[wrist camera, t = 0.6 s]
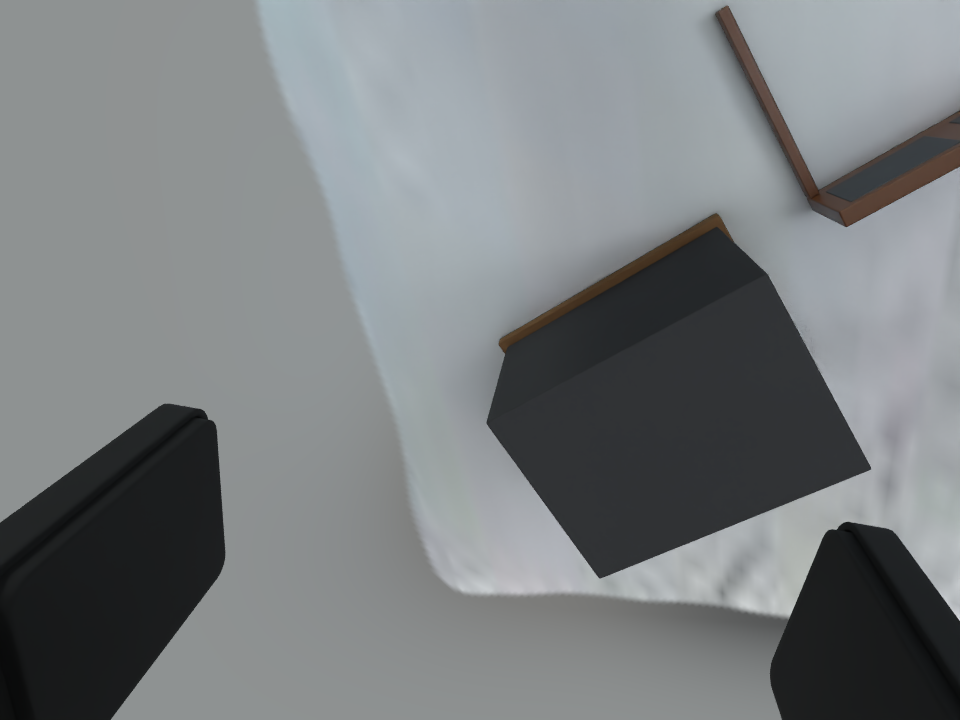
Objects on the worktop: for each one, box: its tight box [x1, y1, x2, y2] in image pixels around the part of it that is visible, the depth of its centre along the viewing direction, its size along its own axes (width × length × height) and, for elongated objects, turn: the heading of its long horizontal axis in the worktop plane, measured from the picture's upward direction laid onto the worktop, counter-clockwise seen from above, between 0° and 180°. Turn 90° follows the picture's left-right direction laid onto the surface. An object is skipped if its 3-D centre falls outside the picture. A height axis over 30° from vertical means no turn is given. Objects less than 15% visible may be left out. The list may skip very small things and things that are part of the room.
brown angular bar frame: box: [715, 5, 960, 227], centre depth 32 cm, size 13×14×5 cm
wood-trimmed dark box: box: [487, 213, 871, 578], centre depth 38 cm, size 14×16×12 cm
